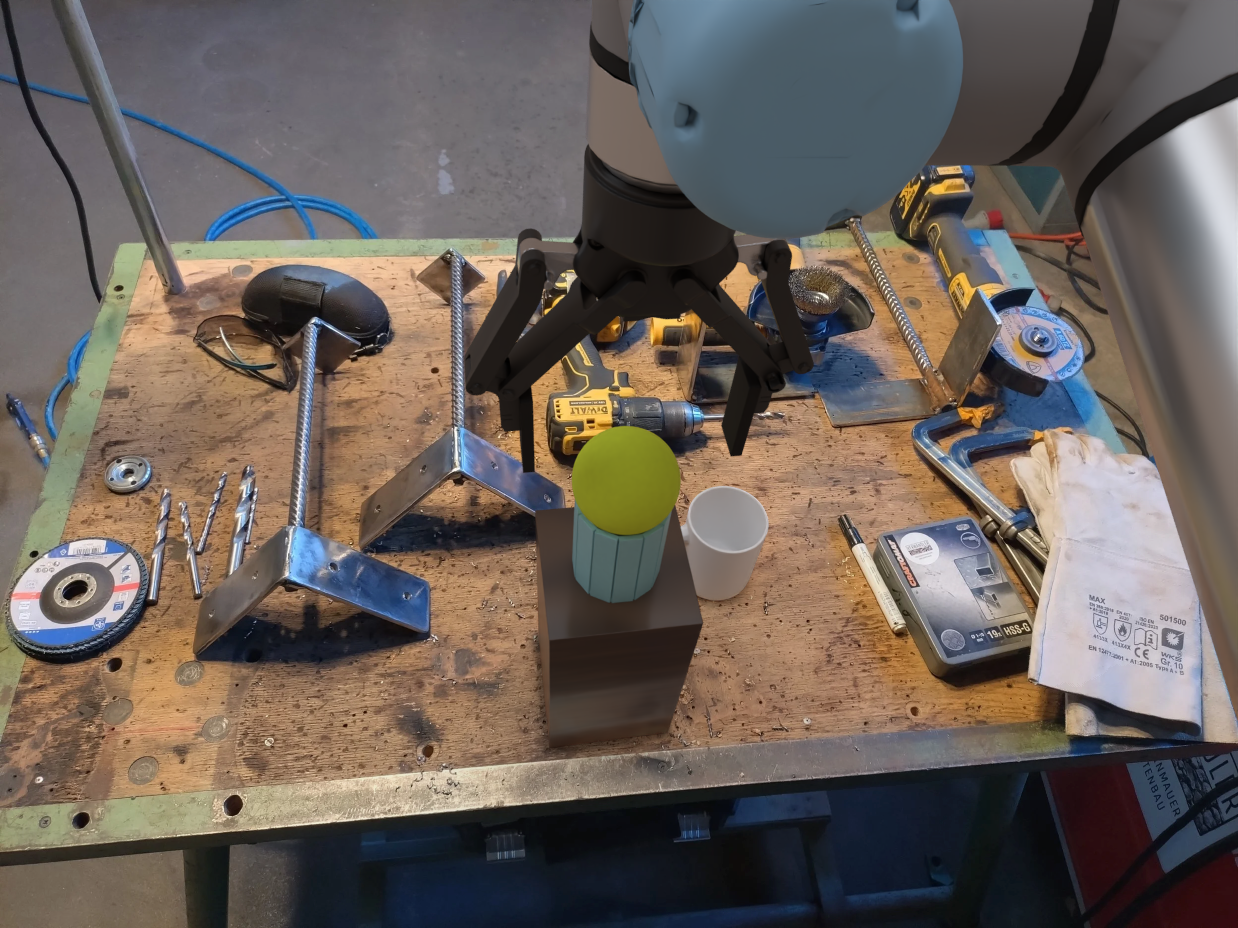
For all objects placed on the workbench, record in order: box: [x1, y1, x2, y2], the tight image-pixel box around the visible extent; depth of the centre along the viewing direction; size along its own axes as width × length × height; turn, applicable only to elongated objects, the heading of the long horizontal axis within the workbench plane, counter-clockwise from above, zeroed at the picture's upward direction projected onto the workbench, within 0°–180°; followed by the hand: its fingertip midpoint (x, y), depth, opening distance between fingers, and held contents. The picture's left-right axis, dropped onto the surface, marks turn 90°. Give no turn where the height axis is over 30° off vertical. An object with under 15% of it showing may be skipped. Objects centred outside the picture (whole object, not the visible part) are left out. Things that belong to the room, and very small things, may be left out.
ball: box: [571, 425, 682, 535], centre depth 56 cm, size 8×8×8 cm
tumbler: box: [572, 499, 672, 603], centre depth 61 cm, size 7×7×9 cm
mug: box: [680, 485, 770, 601], centre depth 89 cm, size 9×12×11 cm
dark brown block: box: [534, 504, 704, 749], centre depth 74 cm, size 12×12×24 cm
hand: (631, 448), depth 53 cm, fingers open, 13 cm apart
